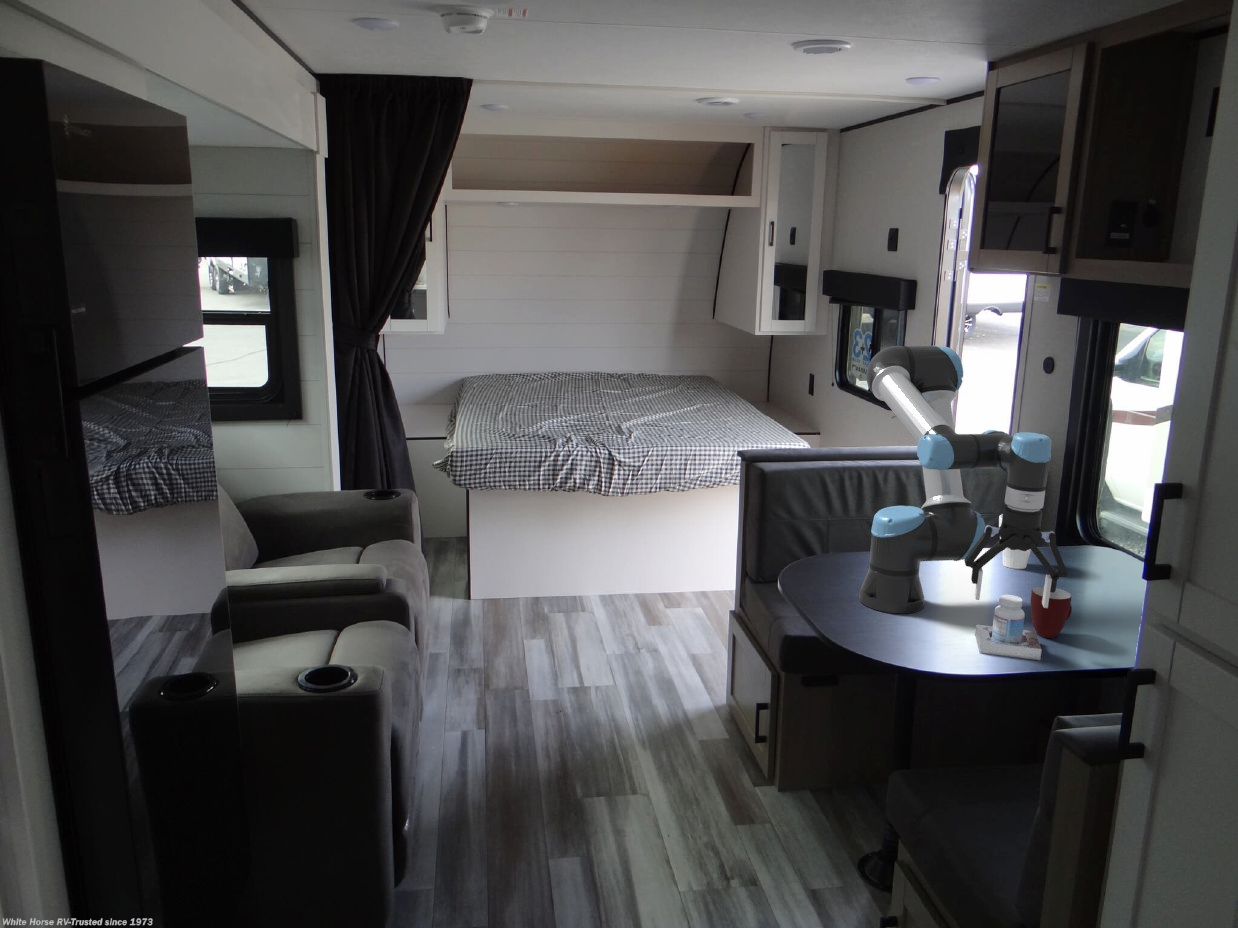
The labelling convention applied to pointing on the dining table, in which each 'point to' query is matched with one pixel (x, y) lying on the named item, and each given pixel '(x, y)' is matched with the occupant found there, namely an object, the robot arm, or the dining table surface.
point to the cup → (1014, 555)
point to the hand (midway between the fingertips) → (1010, 601)
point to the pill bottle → (1008, 620)
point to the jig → (1008, 644)
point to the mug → (1050, 611)
